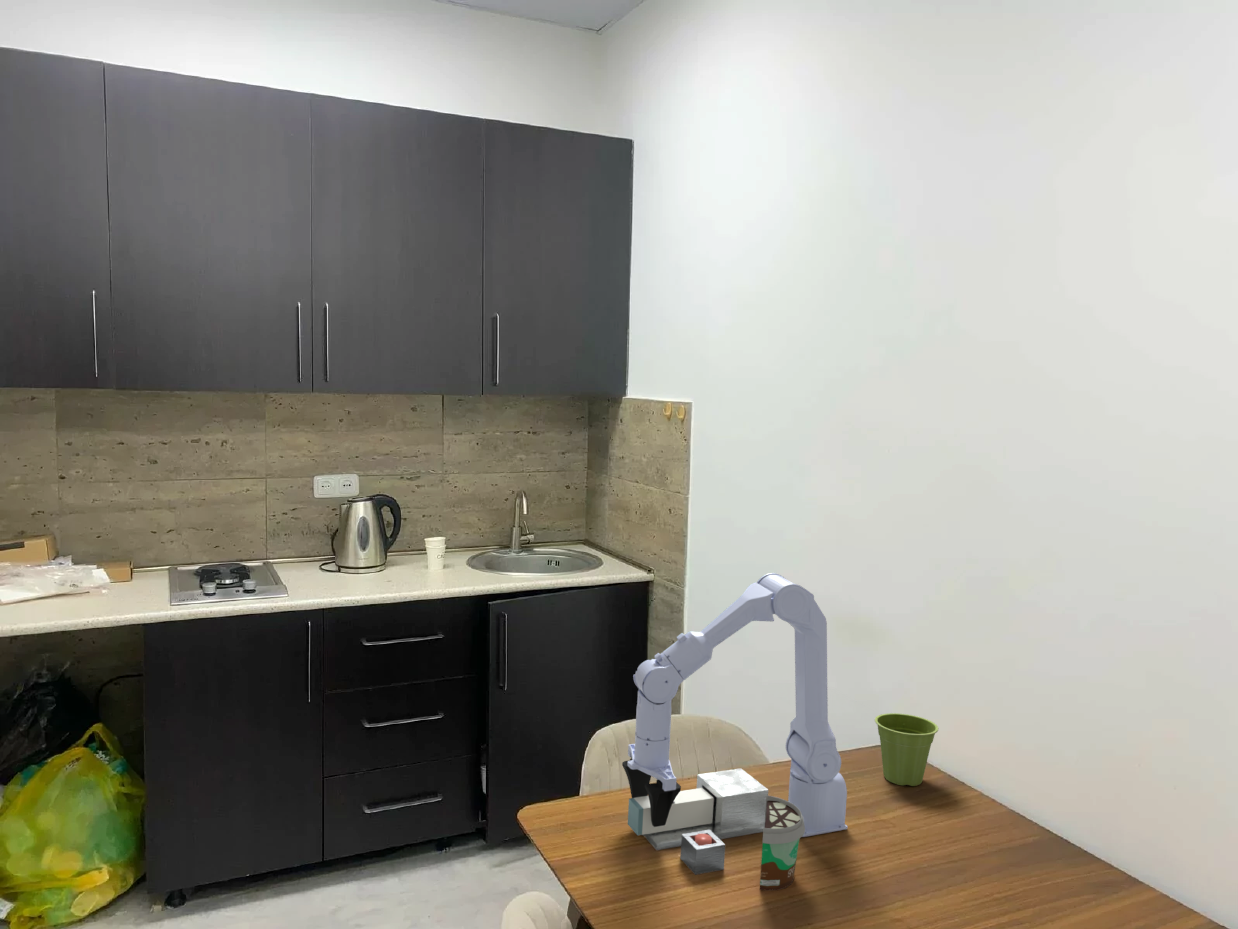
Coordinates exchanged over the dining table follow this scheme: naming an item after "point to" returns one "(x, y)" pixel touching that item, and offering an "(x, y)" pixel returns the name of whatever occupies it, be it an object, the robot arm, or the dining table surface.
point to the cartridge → (672, 812)
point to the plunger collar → (702, 853)
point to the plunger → (703, 839)
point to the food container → (780, 843)
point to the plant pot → (905, 746)
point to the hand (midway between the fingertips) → (648, 814)
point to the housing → (724, 808)
